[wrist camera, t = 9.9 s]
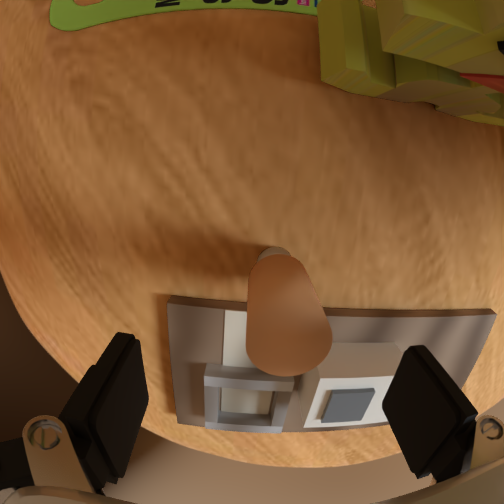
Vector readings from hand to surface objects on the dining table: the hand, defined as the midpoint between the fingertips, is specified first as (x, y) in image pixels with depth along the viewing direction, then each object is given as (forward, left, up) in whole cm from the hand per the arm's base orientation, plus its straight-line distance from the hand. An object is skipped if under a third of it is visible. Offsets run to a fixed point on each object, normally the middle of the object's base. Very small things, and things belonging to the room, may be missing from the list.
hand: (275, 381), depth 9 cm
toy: (-10, -15, -11) cm, 21 cm away
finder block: (-7, +7, -10) cm, 14 cm away
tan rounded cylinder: (-1, 0, -11) cm, 11 cm away
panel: (-8, +9, -11) cm, 16 cm away
